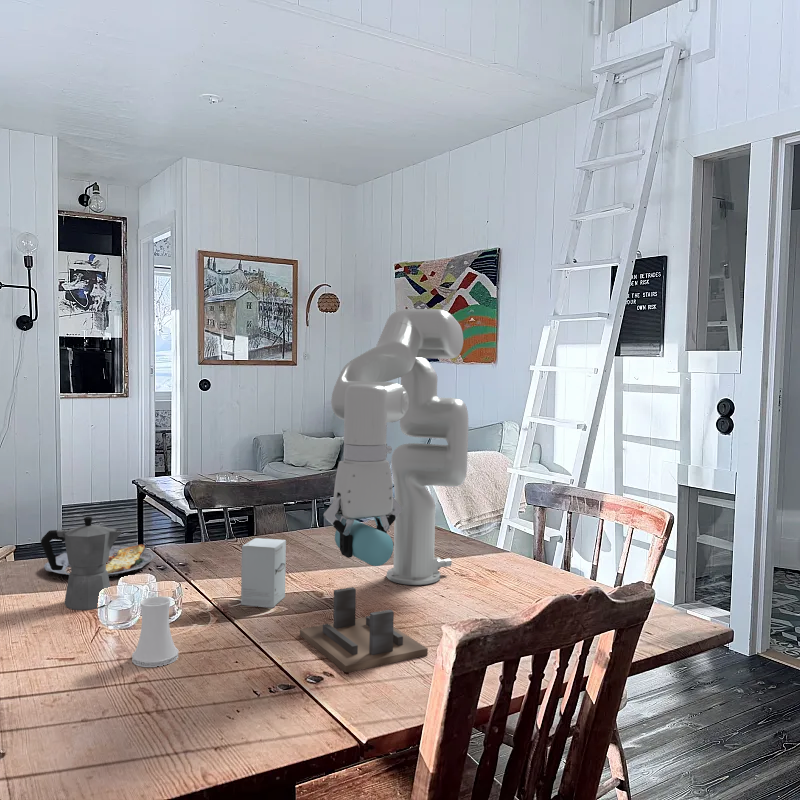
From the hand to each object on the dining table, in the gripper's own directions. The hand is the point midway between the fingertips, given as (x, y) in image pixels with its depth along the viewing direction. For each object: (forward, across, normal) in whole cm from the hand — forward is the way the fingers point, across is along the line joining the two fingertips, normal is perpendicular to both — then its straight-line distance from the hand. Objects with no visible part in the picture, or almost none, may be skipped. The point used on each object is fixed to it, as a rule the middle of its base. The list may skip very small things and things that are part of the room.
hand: (363, 552), depth 138 cm
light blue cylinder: (+1, 0, 0) cm, 1 cm away
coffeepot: (+17, +40, -46) cm, 64 cm away
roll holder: (+17, 0, 0) cm, 17 cm away
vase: (+17, +34, -11) cm, 39 cm away
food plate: (+17, +32, -73) cm, 82 cm away
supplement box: (+17, +7, -31) cm, 36 cm away
